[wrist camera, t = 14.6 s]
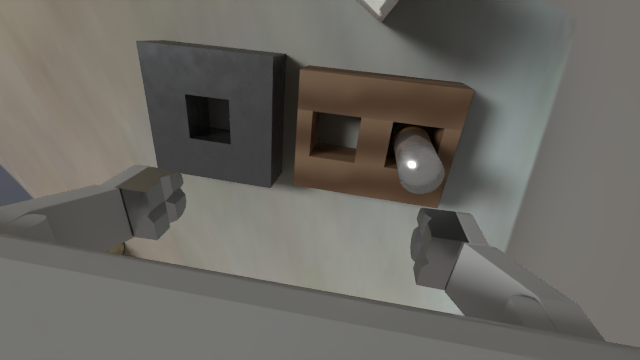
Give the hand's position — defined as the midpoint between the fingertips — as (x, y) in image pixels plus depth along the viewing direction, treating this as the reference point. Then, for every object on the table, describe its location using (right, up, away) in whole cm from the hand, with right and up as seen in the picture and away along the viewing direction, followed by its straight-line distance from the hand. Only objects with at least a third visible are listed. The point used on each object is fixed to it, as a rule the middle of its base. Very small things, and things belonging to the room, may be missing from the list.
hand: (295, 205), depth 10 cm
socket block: (-12, +10, +30) cm, 34 cm away
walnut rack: (+8, +7, +28) cm, 30 cm away
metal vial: (+12, +6, +28) cm, 31 cm away
